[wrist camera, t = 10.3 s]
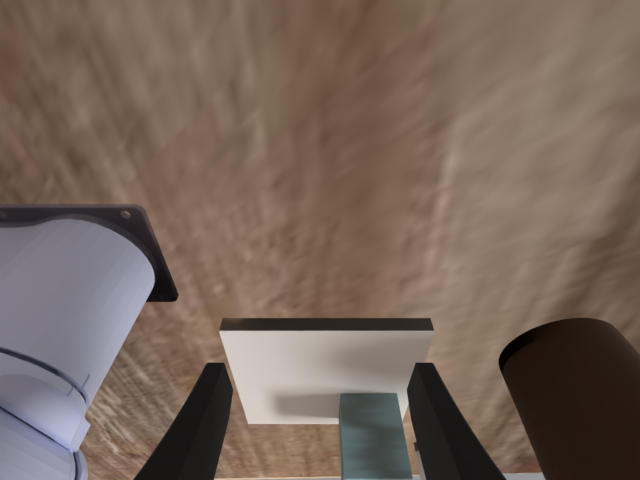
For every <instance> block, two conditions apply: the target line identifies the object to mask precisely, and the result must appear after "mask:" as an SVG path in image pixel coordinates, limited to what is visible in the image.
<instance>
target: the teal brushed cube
mask: <svg viewBox="0 0 640 480" xmlns="http://www.w3.org/2000/svg"><path fill="white" fill-rule="evenodd" d="M338 419H339V442H340V466H341V480H412V479H413V477H412V472H411V466H410V461H409V455H408V450H407V445H406V439H405V434H404V428H403V423H402V418H401V412H400V407H399V401H398V396H397V393H341V394H340V406H339V418H338Z"/></svg>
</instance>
